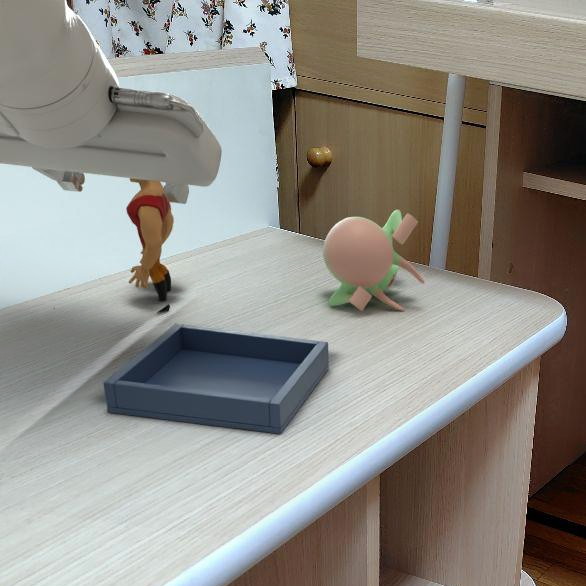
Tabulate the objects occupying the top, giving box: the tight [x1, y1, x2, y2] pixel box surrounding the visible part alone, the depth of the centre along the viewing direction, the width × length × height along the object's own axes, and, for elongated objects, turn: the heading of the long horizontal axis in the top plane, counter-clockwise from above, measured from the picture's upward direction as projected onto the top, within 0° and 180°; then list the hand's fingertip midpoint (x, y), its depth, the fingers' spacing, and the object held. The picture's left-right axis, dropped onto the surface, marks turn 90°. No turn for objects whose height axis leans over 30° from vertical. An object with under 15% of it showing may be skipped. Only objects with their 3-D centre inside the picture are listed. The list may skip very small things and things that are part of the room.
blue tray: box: [103, 323, 330, 435], centre depth 81 cm, size 14×14×2 cm
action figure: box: [125, 178, 175, 313], centre depth 93 cm, size 10×4×15 cm, turn 10°
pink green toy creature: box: [322, 209, 426, 312], centre depth 102 cm, size 12×10×9 cm
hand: (127, 190), depth 87 cm, fingers open, 8 cm apart
